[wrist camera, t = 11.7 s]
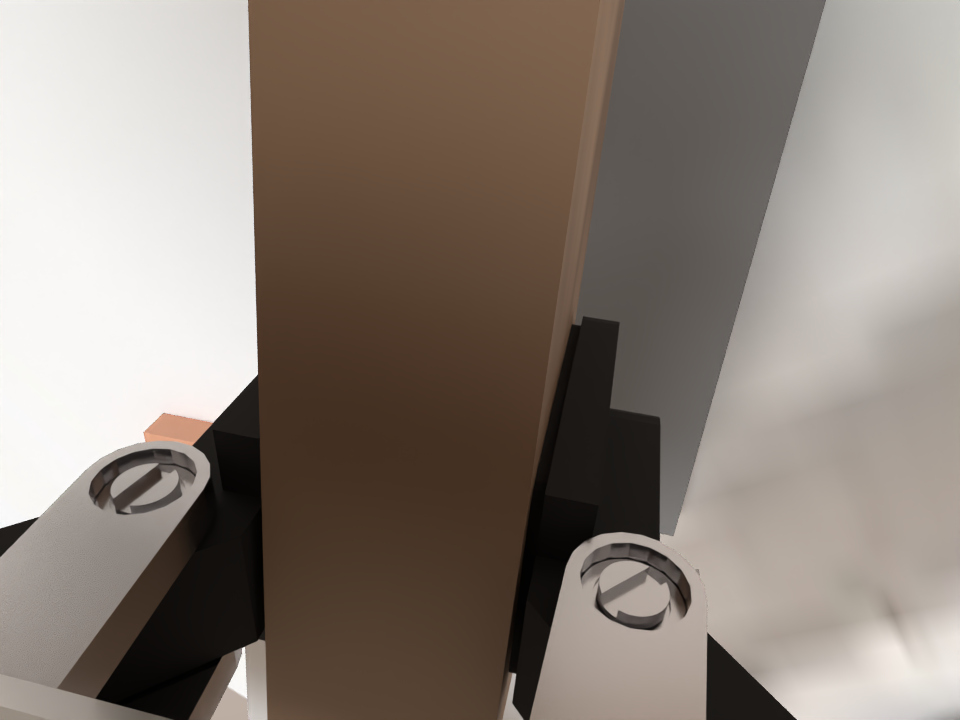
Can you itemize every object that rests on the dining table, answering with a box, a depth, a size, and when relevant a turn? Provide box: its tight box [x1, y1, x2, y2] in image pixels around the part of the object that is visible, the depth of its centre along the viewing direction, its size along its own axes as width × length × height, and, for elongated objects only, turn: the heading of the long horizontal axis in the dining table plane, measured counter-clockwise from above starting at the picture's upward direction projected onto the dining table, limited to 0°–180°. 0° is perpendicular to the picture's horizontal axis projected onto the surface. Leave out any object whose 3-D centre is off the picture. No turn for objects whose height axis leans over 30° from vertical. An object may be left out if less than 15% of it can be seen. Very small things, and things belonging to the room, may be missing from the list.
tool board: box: [575, 0, 826, 536], centre depth 23 cm, size 22×12×2 cm, turn 176°
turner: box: [245, 0, 700, 720], centre depth 10 cm, size 18×8×5 cm, turn 176°
